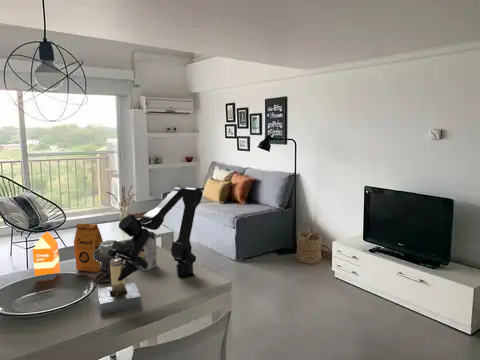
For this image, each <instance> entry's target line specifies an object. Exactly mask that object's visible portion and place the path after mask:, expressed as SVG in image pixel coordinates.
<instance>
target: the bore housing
mask: <svg viewBox="0 0 480 360" xmlns="http://www.w3.org/2000/svg"><path fill="white" fill-rule="evenodd" d="M125 289H126V295H120V296H115V297H112V286H107V287H101V288H97V299H98V307H99V312H100V313H99V314H100V315H106V314H111V313H116V312H121V311H126V310H131V309H136V308H141V307H142V298H141V296H142V295H141V294H140V291H139V289H138V286H137V284H136V282H130V283H125Z"/></svg>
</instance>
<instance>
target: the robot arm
mask: <svg viewBox="0 0 480 360" xmlns="http://www.w3.org/2000/svg"><path fill="white" fill-rule="evenodd" d="M181 199H182V201H183V202H182V203H183V205H184V208H183V213H182V219H181V224H180V229H179V233H178V238H177V239H176V240H175V241H172V244H171V249H170V251H171V253H170V254H171V256H172V257H173V260H174V261H175V262H177V264H176V265H175V270H176V275H177V276H178V278H180V279H183V278H190V277H193V276H195V273H194V263H195V262H196V261H197V256H196V255H195V254H194V253H192V243H191V235H192V234H191V233H192V230H193V229H192V228H193V224H194V219H195V214H196V209H197V207H198V206H199V205H200V203H201V201H202V199H203V191H202V189H201V188H199V187H192V186H187V187H186V188H184V187H178V186H177V187H174V188H172V190H171V192H170V193H169V194H167V196H166V197H165V198H164V199H163V200H162V201H160V202H159V204H158V205H157V206H156V207H155V208H153V209H151V210H149V211H147V212H146V213H145V214H143V215H142V216H141V217H140V218H136V216H135V215H134V214H132V213H129V214H128V215H127V216H125V217H124V218H122V219H121V220H120V221H119V222H118V228H119V230H121V231H122V232H123V233H125V234H126V235H127V236H129V237H130V238H131V239H130V240H129V239H128V240H124V242H122V241H117V240H113V242H112V246H111V248H110V249H109V250H108V251H107V255H108V256H109V257H111V259H114V258H123V259H124V269H123V270H122V272H121V274H120V276H119V278H118V281H121V280H123V279H124V278H125V279H126V278H127V277H129V276H130V275H132V274H133V273H135V272H136V271H139V270H140V269H141V270H143V271H146V270H147V267H148V262H146V261H145V260H144V259H143V258H141V257H139V254H140V252H144V249H143V248H144V246H145V244H146V243H147V241H148V239H149V238H151V239H154V233H155V232H154V231H156V230H159V228H160V227H161V226H162V224H163V223H164V221H165V217H166V215H168V214H169V212H170V211H171V210H172V209H173V207H174V206H175V205H176V204H178V202H179V201H180V200H181ZM150 230H152V231H150ZM139 266H140V267H139ZM109 277H110V279H111V272H110V273H109Z"/></svg>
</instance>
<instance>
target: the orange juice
mask: <svg viewBox="0 0 480 360" xmlns="http://www.w3.org/2000/svg"><path fill="white" fill-rule="evenodd" d="M58 245H59V244H58V241H57V240H56V239H55V238H54V236H52V234H51V233H50V232H49V231H46V232H45V233H43V234H42V235H41V236H40V238H39V239H38V241H37V243H36V244H35V246H34V247H33V249H32V257H33V259H32V260H33V269H34V270H33V271H34V275H35V276H39V275H46V274H54V273H59V272H60V273H61V267H60V255H59V246H58ZM35 276H34V277H35Z"/></svg>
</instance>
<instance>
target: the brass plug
mask: <svg viewBox="0 0 480 360" xmlns="http://www.w3.org/2000/svg"><path fill="white" fill-rule="evenodd" d="M124 264H125V260H124V259H123V258H114V259H112V258H111V259H110V260H109V265H110V266H109V268H110V273H111V278H110V280H111V282H110V283H111V287H112V297H115V296H120V295H126V289H125V284H126V278H124V279H123V280H121V281H118V278H119V276H120V274H121V272H122V270H123V269H124V267H125V266H124Z"/></svg>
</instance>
